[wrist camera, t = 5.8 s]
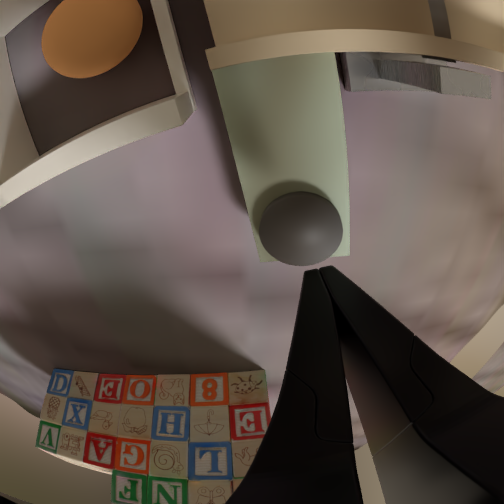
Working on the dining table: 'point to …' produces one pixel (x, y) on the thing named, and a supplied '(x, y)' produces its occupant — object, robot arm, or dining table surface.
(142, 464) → the stack of blocks
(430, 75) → the fulcrum
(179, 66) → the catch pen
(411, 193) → the dining table surface
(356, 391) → the robot arm
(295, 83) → the lever
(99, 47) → the ball
